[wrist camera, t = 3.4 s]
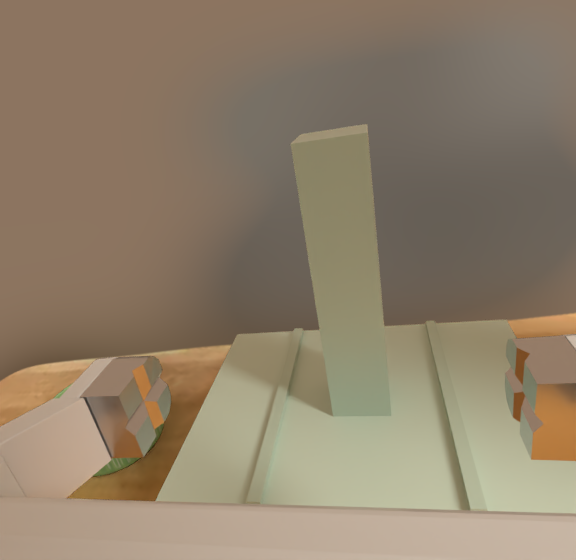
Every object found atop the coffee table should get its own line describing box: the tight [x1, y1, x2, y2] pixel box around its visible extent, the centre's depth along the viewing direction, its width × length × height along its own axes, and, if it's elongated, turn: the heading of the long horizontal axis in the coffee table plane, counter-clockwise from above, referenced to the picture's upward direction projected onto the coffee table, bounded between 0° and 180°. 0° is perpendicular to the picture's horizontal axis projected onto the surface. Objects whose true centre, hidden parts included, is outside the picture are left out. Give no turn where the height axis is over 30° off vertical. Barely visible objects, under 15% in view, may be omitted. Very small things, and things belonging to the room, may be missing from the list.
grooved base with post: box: [155, 124, 576, 513], centre depth 21 cm, size 19×15×15 cm
